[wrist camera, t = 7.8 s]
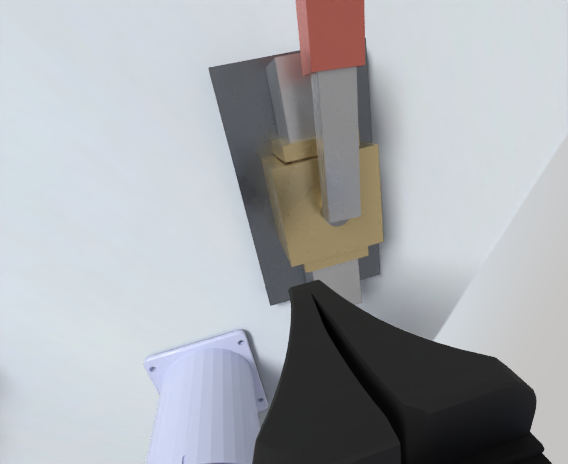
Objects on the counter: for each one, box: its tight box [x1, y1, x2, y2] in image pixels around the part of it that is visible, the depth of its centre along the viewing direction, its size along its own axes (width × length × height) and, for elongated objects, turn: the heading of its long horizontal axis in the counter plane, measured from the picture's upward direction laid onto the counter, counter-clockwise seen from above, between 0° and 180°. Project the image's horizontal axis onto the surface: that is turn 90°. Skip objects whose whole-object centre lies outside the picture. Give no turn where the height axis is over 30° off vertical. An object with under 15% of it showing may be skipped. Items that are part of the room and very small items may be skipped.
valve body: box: [209, 38, 383, 306], centre depth 18 cm, size 16×9×5 cm, turn 11°
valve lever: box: [296, 0, 365, 227], centre depth 13 cm, size 11×2×2 cm, turn 8°
